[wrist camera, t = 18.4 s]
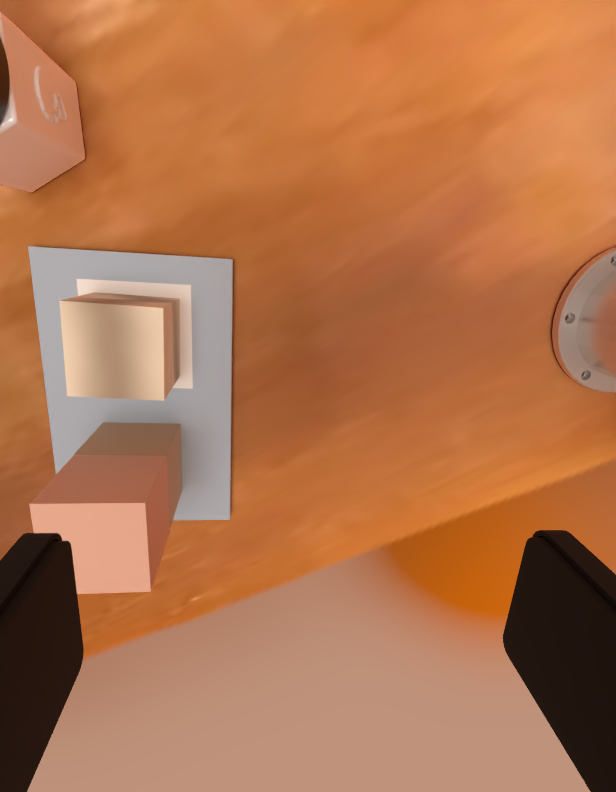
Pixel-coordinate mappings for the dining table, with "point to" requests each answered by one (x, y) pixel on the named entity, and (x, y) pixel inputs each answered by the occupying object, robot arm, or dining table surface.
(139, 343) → the birch block
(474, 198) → the dining table surface
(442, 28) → the dining table surface
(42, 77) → the jar
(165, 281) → the board
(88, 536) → the terracotta block
